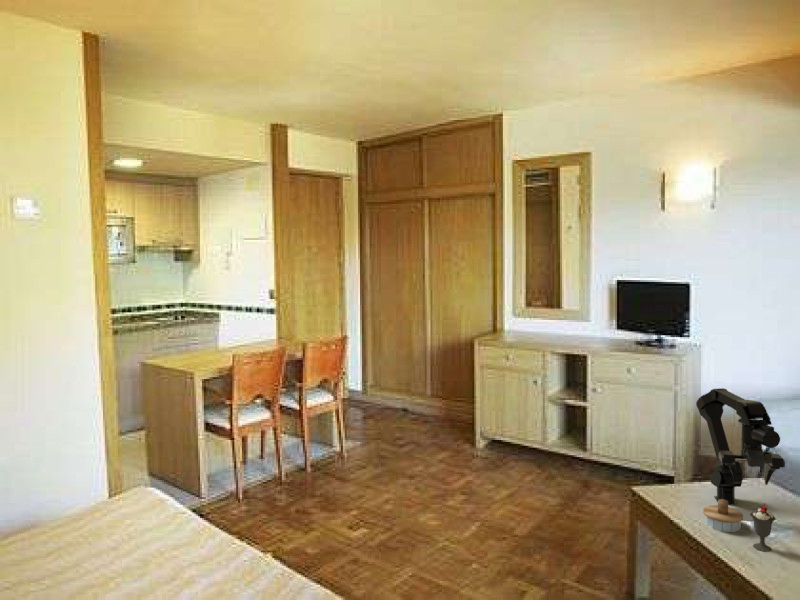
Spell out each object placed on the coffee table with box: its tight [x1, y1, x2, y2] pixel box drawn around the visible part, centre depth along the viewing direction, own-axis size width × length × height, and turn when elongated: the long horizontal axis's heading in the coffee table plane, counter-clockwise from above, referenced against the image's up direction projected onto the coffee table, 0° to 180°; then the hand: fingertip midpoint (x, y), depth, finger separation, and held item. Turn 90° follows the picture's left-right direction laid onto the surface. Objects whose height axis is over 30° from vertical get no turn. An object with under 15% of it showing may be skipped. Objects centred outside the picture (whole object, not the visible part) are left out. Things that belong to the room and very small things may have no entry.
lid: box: [702, 499, 743, 523], centre depth 193 cm, size 12×12×5 cm
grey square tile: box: [732, 507, 758, 522], centre depth 201 cm, size 10×10×1 cm
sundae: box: [750, 502, 776, 553], centre depth 179 cm, size 7×7×15 cm
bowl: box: [704, 514, 742, 533], centre depth 194 cm, size 10×10×4 cm
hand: (750, 483), depth 198 cm, fingers open, 9 cm apart
